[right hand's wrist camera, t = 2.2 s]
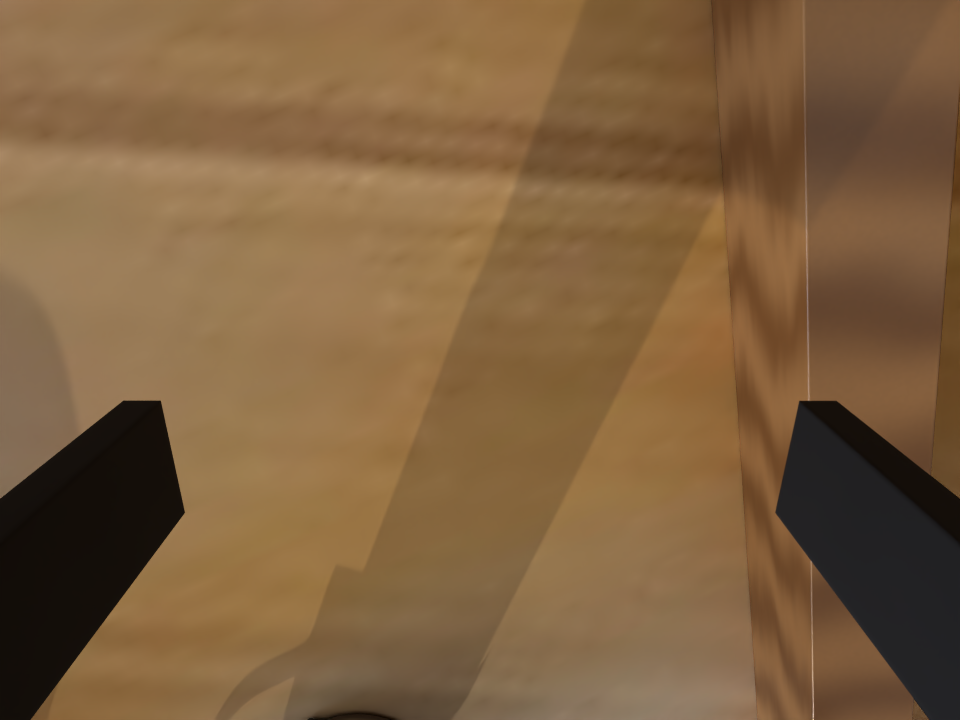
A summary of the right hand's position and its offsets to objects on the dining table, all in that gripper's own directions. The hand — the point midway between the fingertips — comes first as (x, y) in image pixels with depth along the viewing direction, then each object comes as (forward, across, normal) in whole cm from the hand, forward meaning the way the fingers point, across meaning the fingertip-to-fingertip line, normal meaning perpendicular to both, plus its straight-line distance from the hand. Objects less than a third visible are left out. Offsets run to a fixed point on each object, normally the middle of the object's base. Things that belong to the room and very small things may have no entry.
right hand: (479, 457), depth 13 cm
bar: (+19, +19, -20) cm, 33 cm away
